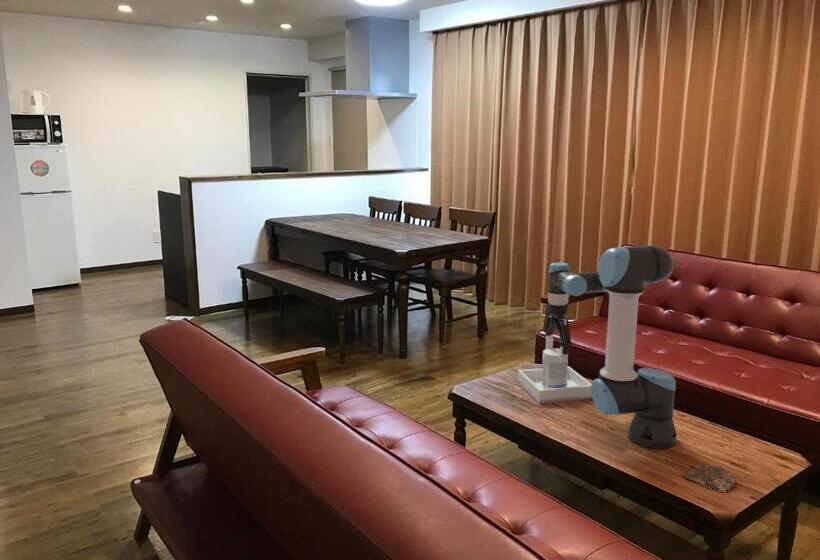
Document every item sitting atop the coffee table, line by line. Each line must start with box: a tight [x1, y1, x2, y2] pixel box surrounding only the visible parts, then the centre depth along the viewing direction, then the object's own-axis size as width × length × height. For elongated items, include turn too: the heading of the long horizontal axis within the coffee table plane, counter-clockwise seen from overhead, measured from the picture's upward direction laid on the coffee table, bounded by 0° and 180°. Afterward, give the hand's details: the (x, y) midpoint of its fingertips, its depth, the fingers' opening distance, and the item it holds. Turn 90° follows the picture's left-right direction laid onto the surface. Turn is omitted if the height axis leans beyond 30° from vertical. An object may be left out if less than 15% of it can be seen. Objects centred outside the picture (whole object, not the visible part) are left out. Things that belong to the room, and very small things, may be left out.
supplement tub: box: [542, 347, 569, 389], centre depth 256 cm, size 10×10×15 cm
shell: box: [683, 464, 736, 491], centre depth 191 cm, size 12×13×4 cm
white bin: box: [517, 365, 593, 404], centre depth 257 cm, size 22×22×5 cm
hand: (556, 356), depth 254 cm, fingers open, 13 cm apart
